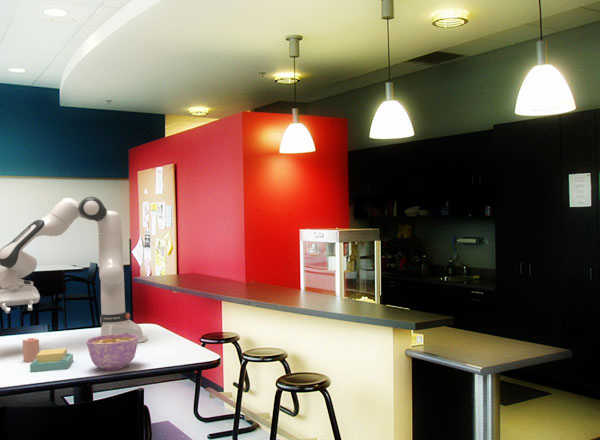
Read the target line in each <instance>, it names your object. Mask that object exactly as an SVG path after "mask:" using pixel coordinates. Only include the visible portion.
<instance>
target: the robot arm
mask: <svg viewBox="0 0 600 440" xmlns="http://www.w3.org/2000/svg"><path fill="white" fill-rule="evenodd" d="M78 218H83V219H85V220H87V221H95V222H96V224H97V228H98V231H97V232H98V235H97V236H98V273H99V274H98V277H99V280H100V307H101V308H100V312H101V313H100V317H99V319H100V329H101V330H100V336H104V335H113V334H134V335H138V337H139V338H138V343H137V344H139V343H144V342H147V341H148V336H146V335H144V334H143V330H142V327H141V326H140V325H139V324H137V323H135V322H134V321H132V320H131V319H130V318H131V315H130V313H129V312H126V301H125V299H126V297H125V272H124V271H125V270H124V251H123V250H124V246H123V243H124V242H123V228H122V227H123V226H122V220H121V217H120V214H119V213H118V212H117V211H115V210H108V209H107V208H106V207H105V205H104V203H103V202H102V200H101V199H99V198H97V197H95V196H88V197H85V198H83V199H82V200H81V201H77V200H76V199H74V198H71V197H64V198H62V199H61V200H60V201H59V202H58V203H57V204H55V206H53V208H52V209H51V210H50V211H49V212H48V213H47V214H46V215H44V217H42V218H41V219H37V220H34V221H33V222H31V223H30V224H29V225H28V226H27V227H26V228H25V229H24V230H23V231H21V232H20V233H19V234H18V235H16V237H14V239H12V241H10V242H9V243H7V244H6V245H5V246H3V247H2V248H1V249H0V307H1V309H2V310H4V311H5V313H6V314H10V312H11V307H10V306H20V305H27V311H29V312H30V311H31V312H32V311H33V304H38V303H39V301H40V299H41V295H40V293H39V290H38V289H37V287H36V286H34V281H31V280H25V279H23V278H26V277H27V276H29V275H31V274H32V273H33V272H34V271H35V270H36V268H37V259H36V258H35V256H33V255H31V254H29V253H27V252H26V251H23V249H24V248H25V247H26V246H28V245H29V244H30V243H31V242H32V241H33V240H34V239H36V238H37V237H40V236H42V237H43V236H47V237H59V236H61V235H63V234H65V232H66V231H67V230H68V229H69V228H70V226H71V225H72V224H73V222H75V220H77V219H78ZM8 306H9V307H8Z"/></svg>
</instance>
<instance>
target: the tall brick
mask: <svg viewBox="0 0 600 440" xmlns="http://www.w3.org/2000/svg"><path fill="white" fill-rule="evenodd" d="M39 352H40V340H39V339H38V338H37V337H36V338H35V337H29V338H26V339H22V356H23V362H24V363H32V362H33V361H34V360H35V359H36V355H37V354H38V353H39Z"/></svg>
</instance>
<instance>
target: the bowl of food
mask: <svg viewBox="0 0 600 440" xmlns="http://www.w3.org/2000/svg"><path fill="white" fill-rule="evenodd" d="M138 338H139V337H138V335H134V334H113V335H104V336H101V335H100V336H94V337H92V338H89V339H87V340H86V346H87V349H88V353H89V357H90V359H91V362H92V363H93V364H94V366H96V367H97V368H101V369H103V370H104V371H115V370H120V369H123V368H125V367H126V366H127V365H129V364H130V363H132V361H133V360H134V359H135V355H136V352H137V349H138V348H137V347H138V344H139V343H138Z"/></svg>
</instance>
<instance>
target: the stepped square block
mask: <svg viewBox="0 0 600 440" xmlns="http://www.w3.org/2000/svg"><path fill="white" fill-rule="evenodd" d="M73 362H74V354H73V353H70V352H68V348H52V349H42V350H39V353H38V354H37V355H36V359H35V360H34V361H33V362H30V364H29V369H30V370H29V372H30V373H36V372H46V371H48V372H49V371H58V370H67V369H69V368H70V366H71V365H72V364H73Z"/></svg>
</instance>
